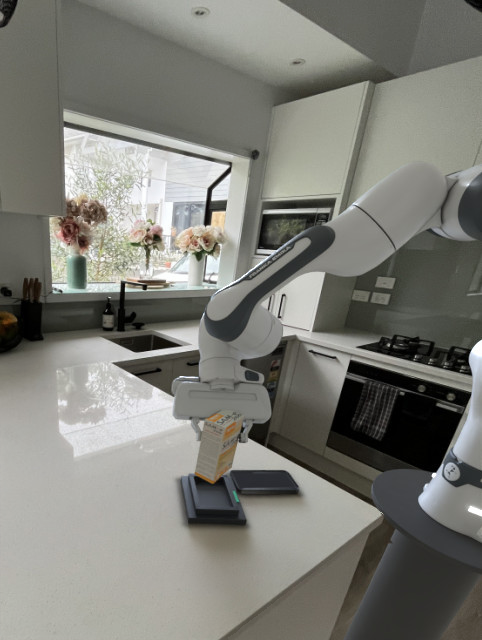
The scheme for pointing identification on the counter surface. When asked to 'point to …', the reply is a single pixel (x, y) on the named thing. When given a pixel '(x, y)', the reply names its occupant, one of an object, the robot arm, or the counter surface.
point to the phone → (263, 482)
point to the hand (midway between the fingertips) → (222, 441)
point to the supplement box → (218, 444)
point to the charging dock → (211, 501)
